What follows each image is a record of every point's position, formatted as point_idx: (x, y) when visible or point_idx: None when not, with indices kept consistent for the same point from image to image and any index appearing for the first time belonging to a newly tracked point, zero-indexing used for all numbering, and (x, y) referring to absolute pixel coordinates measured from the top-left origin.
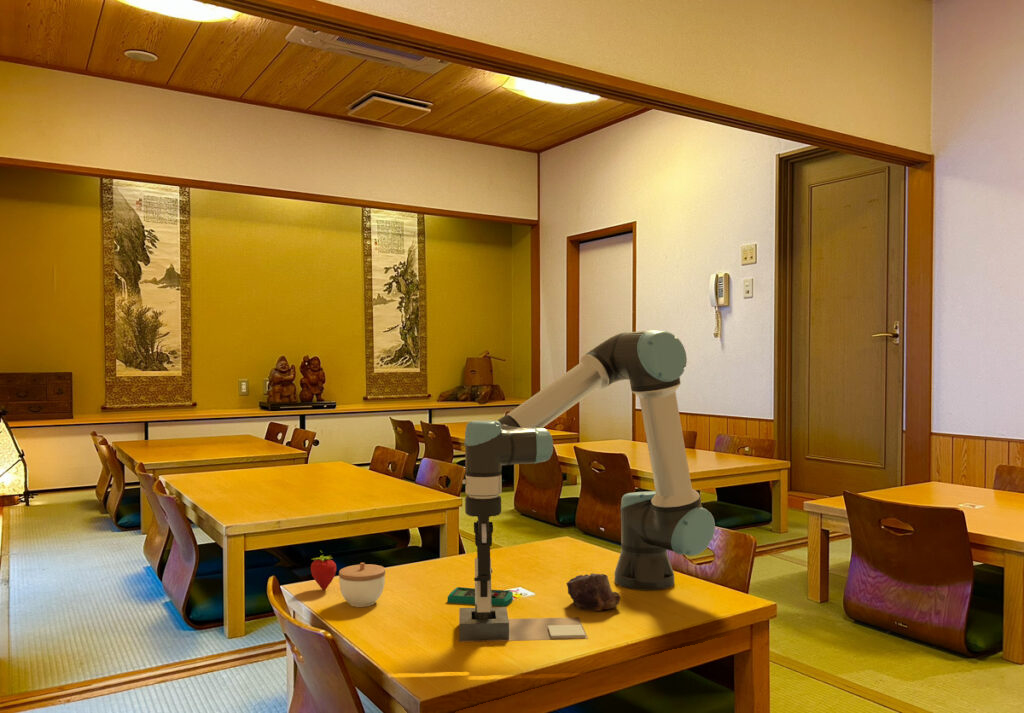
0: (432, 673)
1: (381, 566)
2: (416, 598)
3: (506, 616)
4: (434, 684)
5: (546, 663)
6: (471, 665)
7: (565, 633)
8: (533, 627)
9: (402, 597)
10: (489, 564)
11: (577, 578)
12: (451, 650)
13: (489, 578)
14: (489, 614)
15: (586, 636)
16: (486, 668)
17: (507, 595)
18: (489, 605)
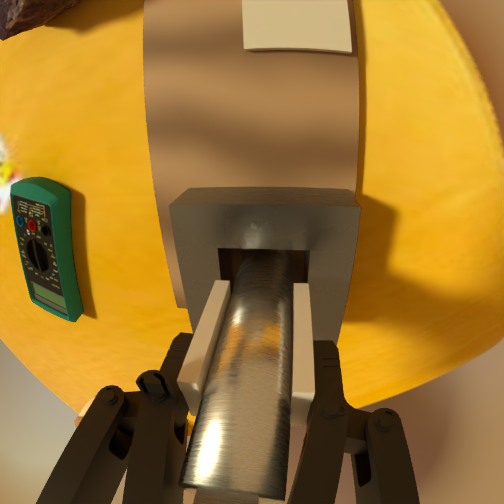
0: (450, 340)
1: (78, 423)
2: (75, 349)
3: (284, 210)
4: (483, 332)
5: (485, 118)
6: (452, 285)
7: (329, 5)
8: (234, 97)
9: (80, 363)
10: (413, 489)
11: (3, 5)
12: (365, 323)
13: (396, 418)
14: (283, 275)
15: None
16: (474, 257)
17: (33, 196)
18: (309, 302)
